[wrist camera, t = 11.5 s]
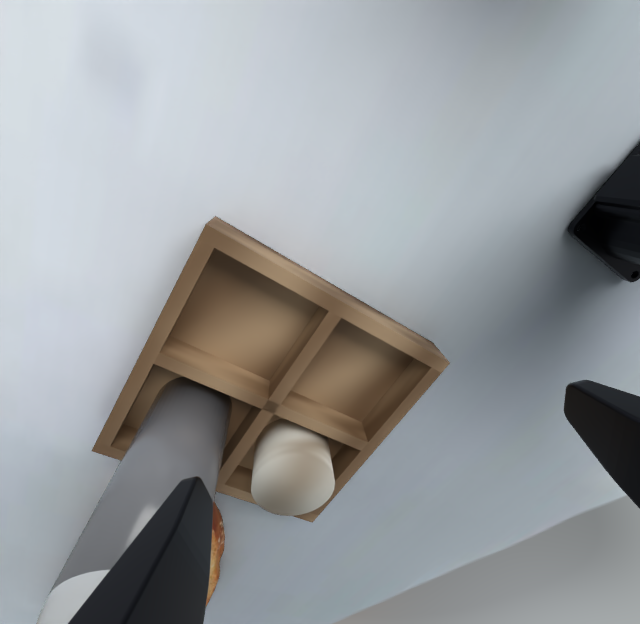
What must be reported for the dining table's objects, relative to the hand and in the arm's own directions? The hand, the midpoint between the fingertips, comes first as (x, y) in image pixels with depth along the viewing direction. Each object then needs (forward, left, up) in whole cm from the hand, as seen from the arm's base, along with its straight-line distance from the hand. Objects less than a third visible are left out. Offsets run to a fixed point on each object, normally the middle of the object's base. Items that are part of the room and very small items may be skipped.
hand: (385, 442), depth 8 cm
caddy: (-1, +8, -13) cm, 15 cm away
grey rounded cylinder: (+3, +12, -12) cm, 17 cm away
